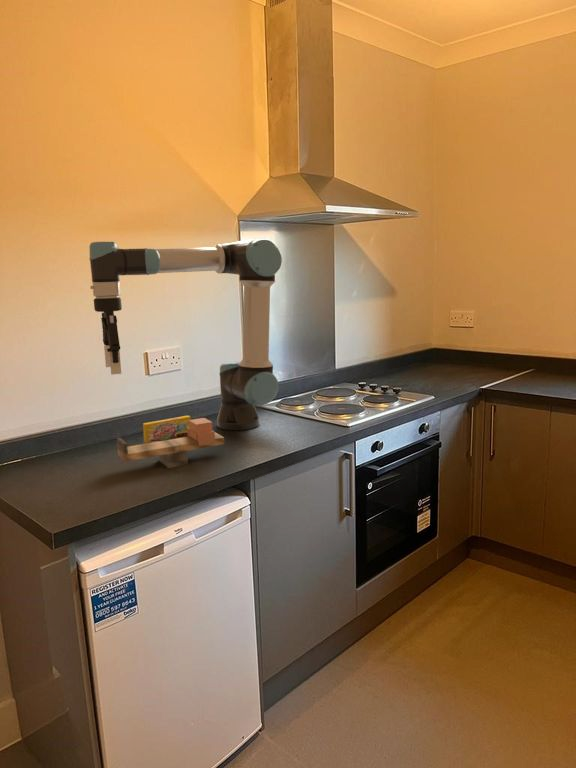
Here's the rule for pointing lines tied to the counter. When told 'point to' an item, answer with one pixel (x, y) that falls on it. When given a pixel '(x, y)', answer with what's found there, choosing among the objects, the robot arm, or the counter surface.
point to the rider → (201, 431)
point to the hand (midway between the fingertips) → (113, 370)
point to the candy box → (166, 429)
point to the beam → (164, 450)
